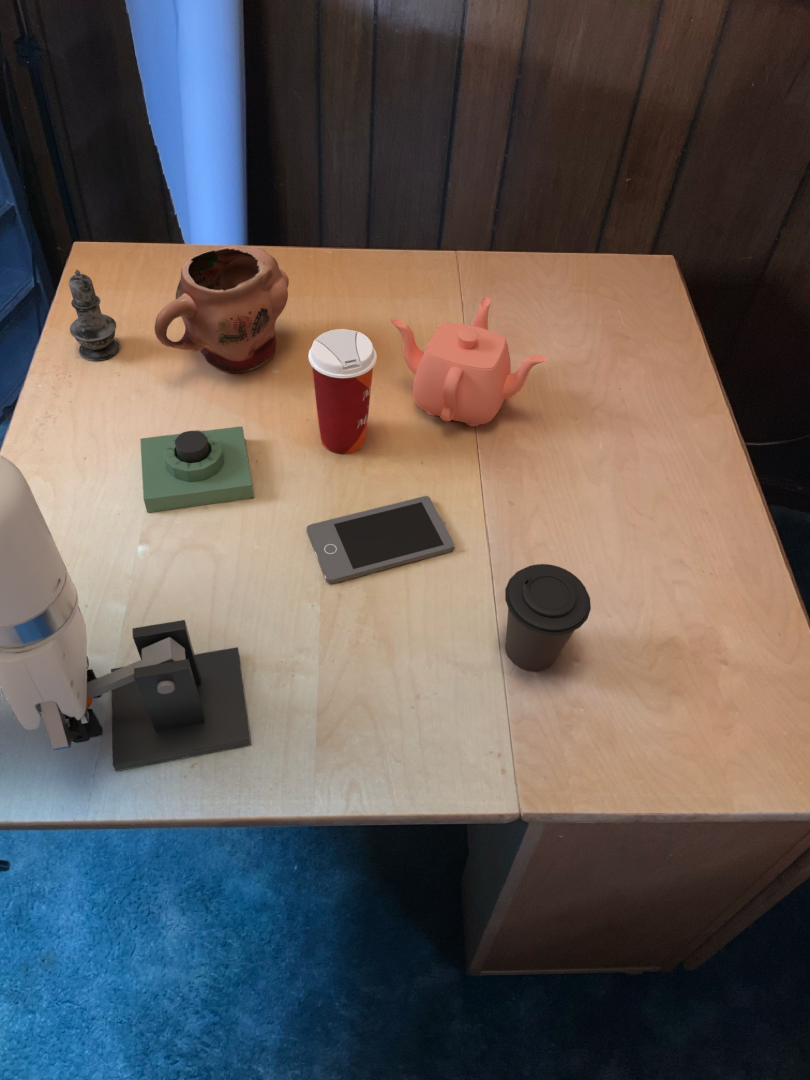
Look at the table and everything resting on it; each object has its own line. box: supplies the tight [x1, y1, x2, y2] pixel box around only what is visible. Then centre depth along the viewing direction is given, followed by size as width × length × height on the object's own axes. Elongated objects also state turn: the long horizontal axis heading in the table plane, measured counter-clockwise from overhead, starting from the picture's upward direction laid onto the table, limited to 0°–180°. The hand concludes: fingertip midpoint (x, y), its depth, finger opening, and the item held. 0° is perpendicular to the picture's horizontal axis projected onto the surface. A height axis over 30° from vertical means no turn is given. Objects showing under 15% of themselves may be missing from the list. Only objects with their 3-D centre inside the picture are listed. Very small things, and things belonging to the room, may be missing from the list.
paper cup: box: [308, 328, 378, 455], centre depth 95 cm, size 8×8×14 cm
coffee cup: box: [504, 563, 592, 673], centre depth 78 cm, size 8×8×10 cm
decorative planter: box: [154, 245, 290, 374], centre depth 104 cm, size 20×12×14 cm, turn 141°
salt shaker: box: [68, 269, 121, 362], centre depth 104 cm, size 6×6×12 cm
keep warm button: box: [175, 430, 209, 463], centre depth 92 cm, size 4×4×2 cm
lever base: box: [110, 619, 252, 772], centre depth 72 cm, size 12×10×11 cm
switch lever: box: [86, 637, 186, 709], centre depth 70 cm, size 12×3×3 cm, turn 104°
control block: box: [139, 426, 255, 513], centre depth 94 cm, size 12×10×4 cm
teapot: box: [389, 296, 549, 427], centre depth 102 cm, size 14×14×11 cm
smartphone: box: [306, 495, 455, 584], centre depth 90 cm, size 15×8×1 cm, turn 111°
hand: (84, 715), depth 73 cm, fingers closed on switch lever, 3 cm apart
